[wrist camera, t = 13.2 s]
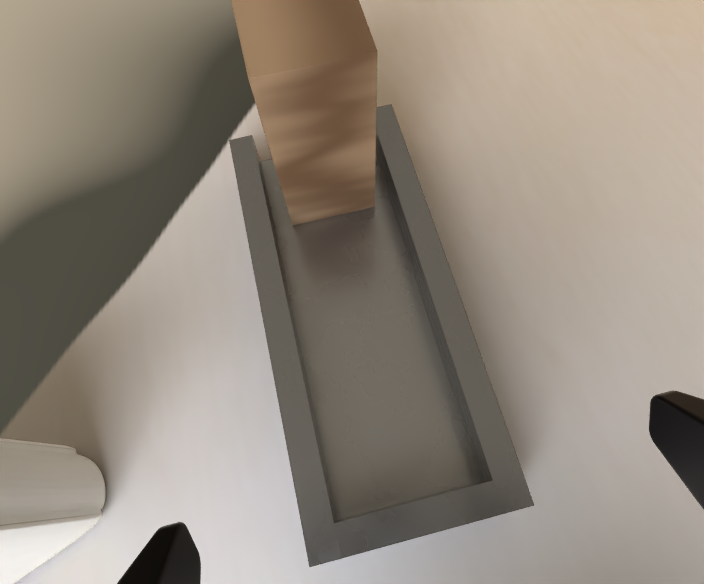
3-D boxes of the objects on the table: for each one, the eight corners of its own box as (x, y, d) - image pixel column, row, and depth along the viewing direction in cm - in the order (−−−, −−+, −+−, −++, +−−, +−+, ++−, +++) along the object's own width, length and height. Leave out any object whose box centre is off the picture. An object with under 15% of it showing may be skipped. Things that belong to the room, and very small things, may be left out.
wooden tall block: (292, 225, 26) (248, 78, 16) (275, 150, 28) (227, -20, 18) (374, 206, 26) (377, 51, 17) (352, 133, 28) (343, -43, 19)
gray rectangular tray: (512, 502, 21) (534, 505, 18) (317, 556, 21) (309, 566, 18) (389, 141, 29) (391, 104, 26) (243, 174, 28) (229, 140, 25)
